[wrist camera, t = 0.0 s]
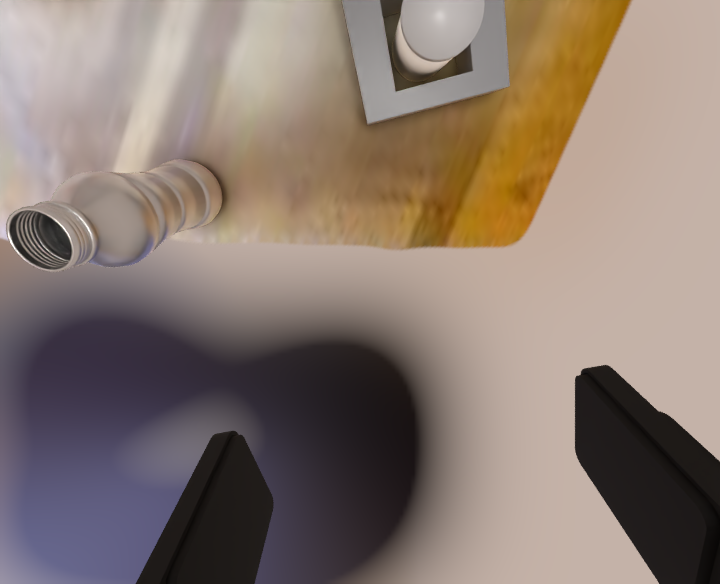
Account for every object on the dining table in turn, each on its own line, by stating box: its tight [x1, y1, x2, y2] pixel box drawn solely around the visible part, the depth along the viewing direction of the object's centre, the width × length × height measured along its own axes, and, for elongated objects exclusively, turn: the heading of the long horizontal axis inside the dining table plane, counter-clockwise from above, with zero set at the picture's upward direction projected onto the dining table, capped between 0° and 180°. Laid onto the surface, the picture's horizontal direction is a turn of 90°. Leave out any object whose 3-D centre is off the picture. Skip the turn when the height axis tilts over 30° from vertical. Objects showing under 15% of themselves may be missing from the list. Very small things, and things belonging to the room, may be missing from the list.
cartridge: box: [392, 0, 484, 82], centre depth 27 cm, size 5×5×11 cm
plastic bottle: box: [6, 159, 222, 272], centre depth 29 cm, size 6×7×20 cm
